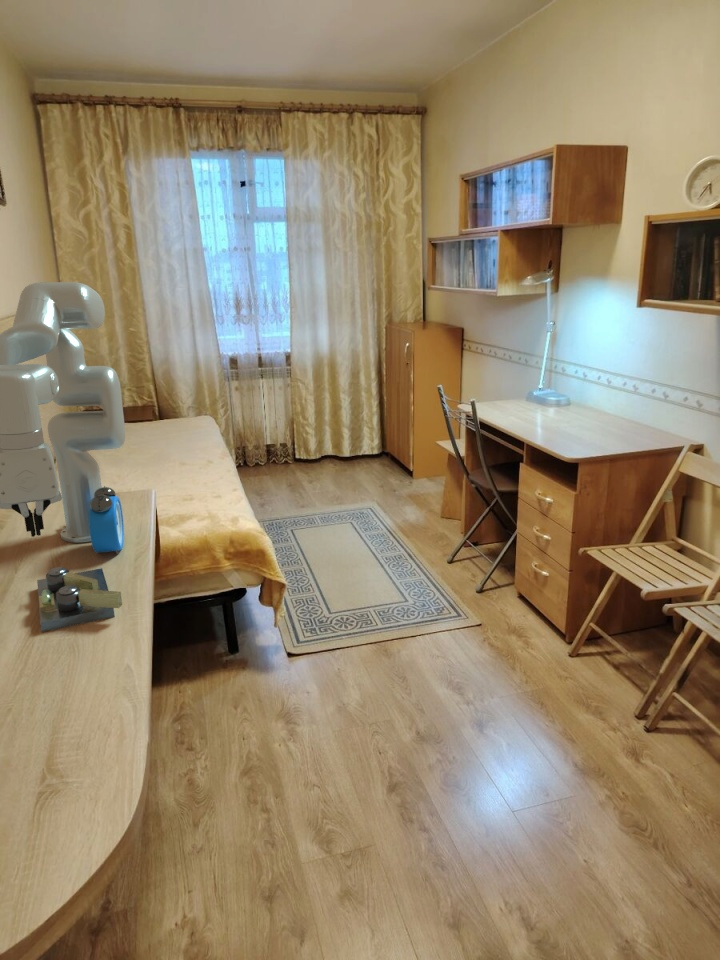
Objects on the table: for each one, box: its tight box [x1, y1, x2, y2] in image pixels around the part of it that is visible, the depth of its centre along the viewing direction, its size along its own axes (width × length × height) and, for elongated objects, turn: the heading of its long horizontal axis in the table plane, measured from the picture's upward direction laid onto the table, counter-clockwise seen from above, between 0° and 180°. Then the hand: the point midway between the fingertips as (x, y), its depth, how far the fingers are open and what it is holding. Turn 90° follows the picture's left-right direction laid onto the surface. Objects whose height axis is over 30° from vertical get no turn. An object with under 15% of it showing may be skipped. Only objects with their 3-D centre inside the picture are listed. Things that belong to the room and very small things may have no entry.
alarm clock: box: [89, 485, 125, 556], centre depth 160 cm, size 13×6×15 cm, turn 13°
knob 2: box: [56, 585, 123, 611], centre depth 130 cm, size 13×4×4 cm, turn 82°
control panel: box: [36, 568, 115, 633], centre depth 136 cm, size 20×13×4 cm, turn 26°
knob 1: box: [45, 566, 99, 591], centre depth 136 cm, size 13×4×4 cm, turn 64°
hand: (36, 533), depth 127 cm, fingers closed
